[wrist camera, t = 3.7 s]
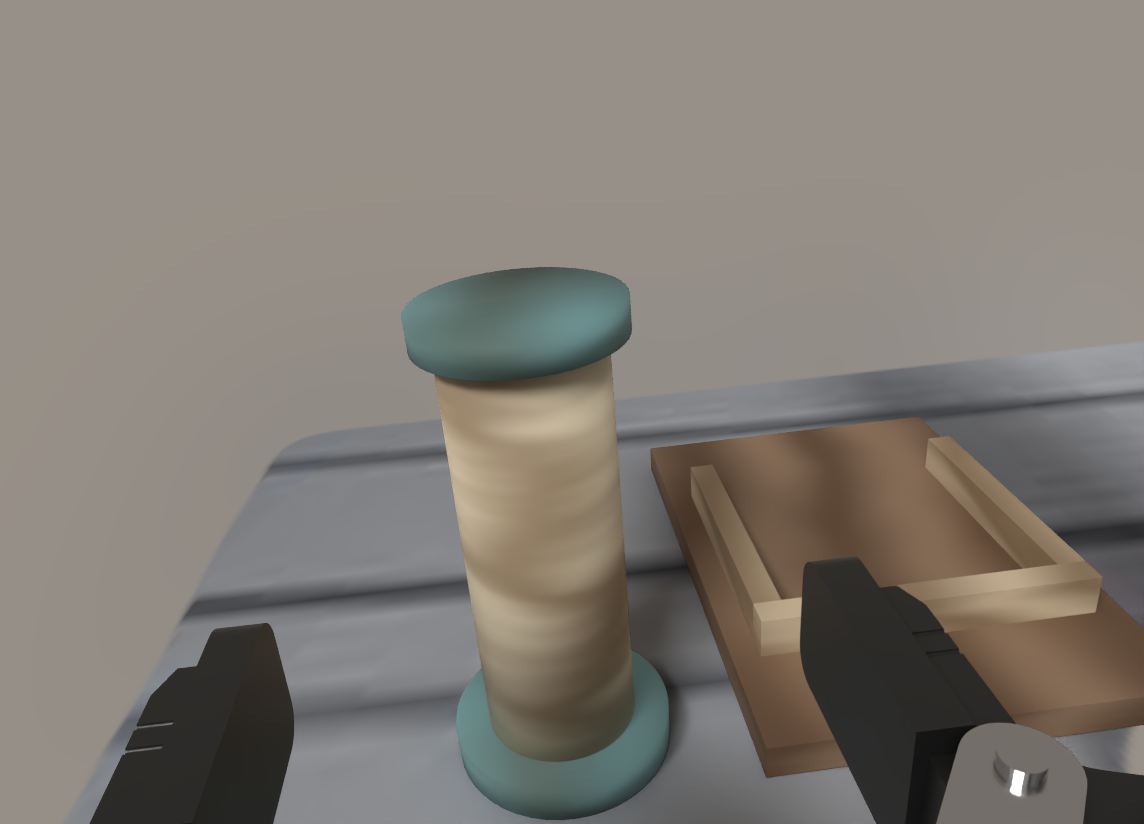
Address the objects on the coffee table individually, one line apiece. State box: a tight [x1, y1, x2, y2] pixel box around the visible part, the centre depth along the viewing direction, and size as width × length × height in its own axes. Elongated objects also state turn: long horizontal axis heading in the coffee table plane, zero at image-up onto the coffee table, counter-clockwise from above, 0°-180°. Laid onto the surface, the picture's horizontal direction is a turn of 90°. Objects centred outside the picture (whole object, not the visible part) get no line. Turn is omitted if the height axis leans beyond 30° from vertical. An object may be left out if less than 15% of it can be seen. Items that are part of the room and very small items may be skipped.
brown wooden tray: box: [650, 417, 1144, 777], centre depth 36 cm, size 14×20×3 cm
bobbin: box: [401, 267, 670, 820], centre depth 27 cm, size 7×7×15 cm
